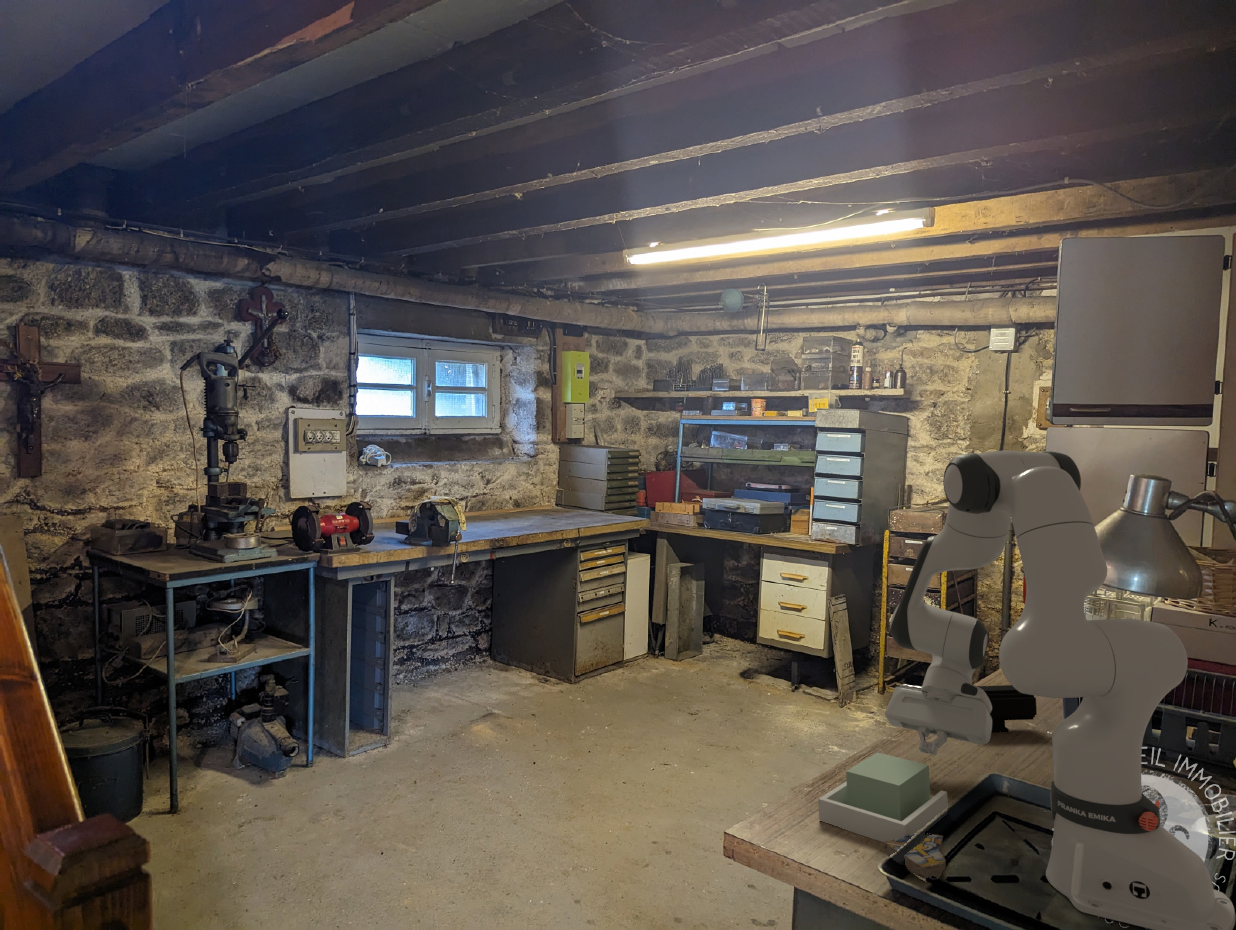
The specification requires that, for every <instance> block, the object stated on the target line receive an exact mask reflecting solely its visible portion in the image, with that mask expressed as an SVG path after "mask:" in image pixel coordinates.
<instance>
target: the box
mask: <svg viewBox="0 0 1236 930" xmlns="http://www.w3.org/2000/svg"><path fill="white" fill-rule="evenodd" d="M817 799H818V800H817V801H818V821H819V820H821V821H824V822H828V823H830V824H832V825H834V826H833V827H835V826H838V827H840V828H839V829H841V828H842V829H841V830H844V829H845V830H844V831H847V830H848V832H851V833H854V834H857V835H861V836H864V837H867V838H869V839H872V840H874V841H877V842H881V843H883V844H884V843H885V841H887V840H892V839H896V838H900V837H904V836H908V835H912V834H914V833H916V832H917V831H918V830H920V829H921V828H923V827H924V826H925V825H926V824H927V823H928V822H930V821H931V820H932V819H934V817H935V816H936V815H938V814H939V813H941V812H942V811H943V810H944V809H946V808H947V807H948V791H944V790H940V791H938V792H937V793H936V794H934V796H933V797H930V800H929V801H927V802H926V803H925V804H923V805H922V806H921V807H920V808H918V809H917V810H916V811H915V812H913V813H912V814H911V815H909V816H908V817H907V818H906V819H904V820H903V821H899V820H895V819H892V818H889V817H886V816H882V815H879V814H876V813H872V812H869V811H866V810H863V809H859V808H856V807H853V806H849V805H848V802H847V780H845V782H842V783H841V784H839V785H838V786H836V787H834V788H833V789H831V790H830V791H828V792H827V793H826V794H824V795H822V796H820V797H819V798H817ZM948 808H949V807H948ZM832 825H831V826H832ZM838 827H837V828H838Z"/></svg>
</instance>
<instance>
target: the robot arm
mask: <svg viewBox="0 0 1236 930" xmlns="http://www.w3.org/2000/svg"><path fill="white" fill-rule="evenodd" d="M942 483H943V484H942V485H943V491H944V495H945V497H946V499H947V502H948V503H949V504H948V508H947V512H946V517H945V523H944V525H943V528H942V529H941V530H940V532H939V533H938V534H935V535H932V536H929V537H927V539H926V540H925V541H924V543H923V544H922V546H921V549H920V551H919V553H918V555H917V558H916V560H915V562H914V565H913V567H912V570H911V572H910V575H909V578H908V580H907V582H906V586H905V588H904V591H903V594H902V596H901V599H900V601H899V603H898V605H897V606H896V608H895V609H894V611H893V614H892V615H891V619H890V623H889V633H890V635H891V637H892V639H893V640H894V641H895V643H896V644H897V645H898V646H899V648H903V649H908V650H913V651H919V652H922V653H925V654H929V655H931V657H932V659H931V660H932V661H931V663H930V665H929V666H928V668H927V670H926V673H925V675H924V678H923V679H924V680H923V682H922V685H921V686H920V685H910V684H907V683H902V685H898V686H895V687H894V689H893V692H892V696H891V698H890V700H889V702H888V703H887V707H886V709H885V711H884V712H885V713H884V714H885V717H886V719H887V721H888V722H889V724H890V725H891V726H894V727H897V728H898V727H899V728H903V729H906V730H912V731H917V734H918V736H919V740H920V742H919V747H918V750H919V751H920V752H921V753H925V754H928V755H933V756H937V754H938V751H939V749H940V748H941V747H942V746H944V745H945V743H947V742H948V738H949V739H953V740H957V741H963V742H966V743H971V744H976V745H981V746H985V745H986V744H988V743H989V742H990V740H991V736H992V733H991V731H992V718H991V716H990V714H989V713H991V711H992V704H991V702H990V700H989V698H988V696H987V695H986V693H985V692H984V690H983V689H981V688H979V687H977V686H978V685H975V684H973V680H972V679H973V674H974V673H975V672H976V670H977V668H978V667H980V666H981V665H983V664H984V660H985V659H984V658H985V657H986V651H987V649H988V646H989V642H990V633H989V631H988V630H987V628H986V626H985V625H984V624H983V622H982V621H981V620H980V619H977V618H975V617H973V616H970V615H966V614H962V613H959V612H955V611H951V610H947V609H943V608H939V607H936V606H933V605H930V604H927V603H926V602H925V601H924V597H925V596H926V593H927V591H928V589H929V588H928V587H929V585H930V583H931V581H932V577H934V576H935V575H937V574H939V573H944V572H951V571H967V570H976V569H979V568H982V567H986V566H988V565H990V564H992V563H994V562H995V561H996V560H997V559H999V557H1000V556H1001V555H1002V554H1003V551H1004V549H1005V546H1006V543H1007V540H1008V536H1009V530H1010V526H1011V523H1012V525H1013V530H1014V535H1015V539H1016V544H1017V546H1018V547H1017V548H1018V550H1019V555H1020V559H1021V563H1022V568H1023V572H1024V573H1023V574H1024V579H1025V585H1026V587H1025V588H1026V591H1025V592H1026V595H1025V601H1024V607H1023V609H1022V612H1021V614H1020V616H1019V618H1018V620H1017V621H1016V623H1014V624H1013V626H1012V627H1011V628H1009V630H1008V631H1007V632H1006V634H1005V635H1004V636H1003V638H1002V640H1001V642H1000V645H999V650H998V659H999V660H998V661H999V665H1000V669H1001V671H1002V673H1003V675H1004V677H1005V678H1006V680H1007V682H1008V683H1009V685H1012V686H1013V687H1014V688H1015V689H1016V690H1018V691H1019V692H1021V693H1024V694H1029V695H1034V697H1041V698H1043V697H1044V698H1049V699H1050V698H1051V699H1067V698H1071V699H1072V698H1082V701H1081V702H1080V704H1079V705H1078V707H1077V708H1076V710H1075V711H1073V712H1072V713H1071V714H1070V715H1069V716H1067V717H1066V718H1065V719H1063V720H1061V721H1060V722H1059V723H1058V724H1057V725H1056V727H1055V728H1054V730H1053V734H1052V738H1051V742H1052V744H1051V745H1052V746H1051V747H1052V766H1053V781H1051V783H1050V791H1049V792H1050V797H1049V798H1050V810H1051V814H1052V819H1053V835H1052V843H1051V850H1050V855H1049V856H1050V857H1049V860H1048V863H1047V867H1046V870H1045V877H1046V879H1047V881H1048V883H1050V885H1052V886H1053V888H1054V889H1055V890H1057V891H1058V892H1060V893H1061V894H1063V895H1064V896H1065V897H1067V898H1068V899H1069V901H1070V902H1071V904H1072V905H1073V906H1074V907H1075V909H1076V910H1078V911H1080V912H1082V913H1084V914H1089V915H1093V916H1096V917H1101V918H1105V919H1109V920H1113V921H1118V922H1120V923H1126V924H1129V925H1133V926H1137V927H1141V928H1145V929H1150V930H1233V929H1234V927H1235V925H1236V912H1235V907H1234V905H1233V902H1232V900H1231V899H1230V898H1229V897H1228V896H1227V895H1226V894H1225V893H1224V892H1222V891H1220V890H1217V889H1214V887H1213V882H1212V879H1211V878H1212V877H1211V875H1210V872H1209V870H1208V867H1207V865H1206V863H1205V861H1204V860H1203V858H1202V857H1201V856H1200V855H1198V854H1197V853H1196V852H1195V851H1194V850H1192V849H1191V848H1190V847H1188V846H1187V845H1186V844H1184V842H1182V841H1181V840H1180V839H1178V838H1177V837H1175V836H1174V834H1172V833H1171V832H1169V830H1167V829H1166V828H1165V827H1163V826H1162V825H1161V814H1160V813H1161V812H1160V810H1161V808H1160V807H1161V804H1160V800H1159V799H1157V800H1155V802H1153V801H1152V800H1151V799H1149V798H1148V797H1147V796H1146V795H1145V794H1144V793H1143V791H1142V790H1143V787H1142V748H1143V741H1144V737H1145V733H1146V729H1147V726H1148V724H1149V722H1150V720H1151V718H1152V716H1153V714H1154V712H1155V710H1156V709H1157V707H1158V705H1159V704H1160V702H1161V701H1162V700H1163V699H1164V698H1165V697H1166V695H1167V694H1169V693H1170V692H1171V691H1172V690H1173V689H1174V688H1176V687H1178V686H1179V685H1180V684H1181V683H1182V681H1184V678H1185V676H1186V673H1187V671H1188V661H1189V660H1188V653H1187V651H1186V648H1185V646H1184V644H1183V642H1182V640H1181V639H1180V637H1179V636H1178V635H1177V634H1176V632H1175V631H1173V629H1171V628H1170V627H1169V626H1168V625H1165V624H1163V623H1159V622H1154V621H1149V620H1142V619H1135V618H1112V619H1109V618H1107V619H1106V618H1105V619H1087V617H1086V613H1085V599H1086V598H1087V597H1089V596H1090V595H1092V594H1094V593H1095V592H1096V591H1097V590H1099V589H1100V587H1102V586H1103V584H1104V582H1105V581H1106V579H1107V575H1108V566H1107V563H1106V560H1105V556H1104V553H1103V550H1102V547H1101V543H1100V540H1099V537H1098V535H1097V531H1096V528H1095V525H1094V522H1093V519H1092V516H1091V514H1090V511H1089V508H1088V506H1087V505H1088V504H1087V503H1086V502H1085V499H1084V497H1083V495H1082V493H1081V486H1082V478H1081V473H1080V470H1079V468H1078V465H1077V464H1076V462H1075V460H1073V459H1072V458H1071V457H1070V456H1069V455H1067V454H1065V453H1061V452H1057V451H1052V450H1051V451H1050V450H1043V451H1031V450H1030V451H1028V450H1027V451H1026V450H1025V451H1024V450H1016V451H1015V450H1010V449H1007V450H1005V449H1004V450H995V451H994V450H993V451H986V452H980V453H975V452H968V453H965V454H961V455H957V456H954V457H953V458H951V460H950V461H949V462H948V464H947V465H946V467H945V469H944V473H943V481H942ZM1011 520H1012V522H1011ZM930 735H935V736H937V737H936V738H935V739H934V740H933V741H932V742H930V741H927V740H926V738H929V736H930Z"/></svg>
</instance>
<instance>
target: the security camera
mask: <svg viewBox="0 0 1236 930" xmlns="http://www.w3.org/2000/svg"><path fill="white" fill-rule="evenodd" d="M976 686H977V687H979V688H981V689H983V690H984V692H985V693H986V695H987V696H988V698H989V700H990V702H991V704H992V711H991V713H989V714H990V716H991V718H992V731H991V734H997V733H998V734H1001V733H1003V734H1005V733H1009V731H1010V729H1009V728H1008V727H1006V721H1024V720H1027V721H1028V720H1032V721H1033V720H1034V718H1036V716H1037V697H1036V696H1035V695H1029V694H1024V693H1021V692H1019V691H1018V690H1016V689H1015V688H1014V687H1013V686H1012V685H1011V684H1007V685H1001V684H1000V685H976Z"/></svg>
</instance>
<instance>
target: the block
mask: <svg viewBox="0 0 1236 930" xmlns="http://www.w3.org/2000/svg"><path fill="white" fill-rule="evenodd" d="M845 776H846V778H845V779H846V781H847V802H848V805H849V806H853V807H856V808H859V809H863V810H866V811H869V812H872V813H876V814H879V815H882V816H886V817H889V818H892V819H895V820H899V821H903V820H904V819H906V818H907V817H908V816H909V815H911V814H912V813H913V812H915V811H916V810H917V809H918V808H920V807H921V806H922V805H923V804H925V803H926V802H927V801H929V800H930V799H931V790H930V788H931V787H930V784H931V783H930V765H929V764H926V763H923V762H919V761H918V762H917V761H914V760H911V759H905V758H902V757H898V756H893V755H890V754H885V753H881V752H879V751H878V752H876V753H874V754H872V755H871V756H869V757H867V758H866V759H864V760H863V761H861V762H859V763H857V764H856V765H854V766H852V767H850V768H849V769H848V770H846V771H845Z"/></svg>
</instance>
